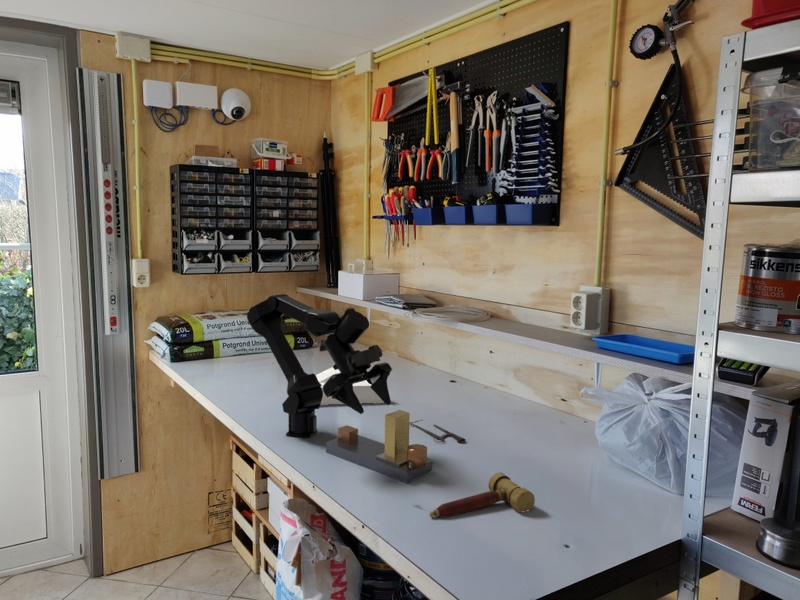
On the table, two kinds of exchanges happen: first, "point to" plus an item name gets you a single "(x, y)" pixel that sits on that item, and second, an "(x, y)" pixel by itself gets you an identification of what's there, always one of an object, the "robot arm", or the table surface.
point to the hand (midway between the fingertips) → (376, 408)
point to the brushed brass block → (396, 434)
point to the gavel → (490, 498)
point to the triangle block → (360, 389)
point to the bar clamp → (459, 439)
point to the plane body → (379, 455)
